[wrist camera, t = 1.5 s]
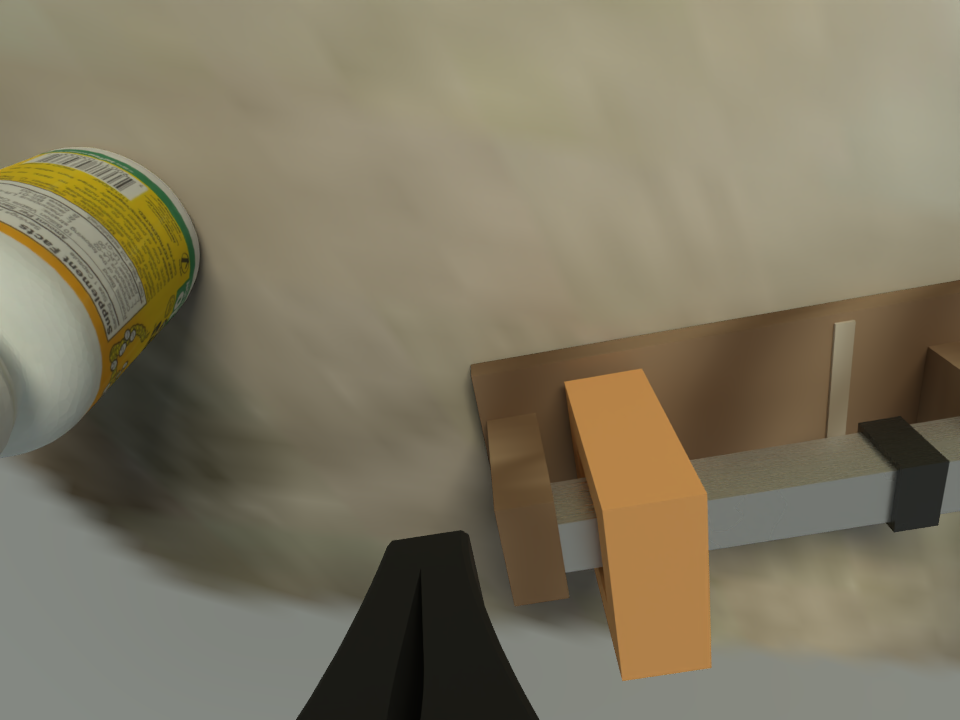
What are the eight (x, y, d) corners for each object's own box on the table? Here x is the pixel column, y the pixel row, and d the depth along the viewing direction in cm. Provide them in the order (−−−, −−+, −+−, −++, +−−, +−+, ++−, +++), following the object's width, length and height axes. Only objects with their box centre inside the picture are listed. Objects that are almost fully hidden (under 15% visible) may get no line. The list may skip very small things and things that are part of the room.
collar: (641, 368, 21) (707, 493, 15) (653, 517, 24) (711, 668, 18) (564, 381, 21) (602, 510, 16) (584, 528, 24) (622, 681, 18)
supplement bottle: (138, 114, 18) (-142, 212, 10) (239, 290, 20) (87, 494, 12) (-34, 185, 19) (-439, 336, 10) (83, 347, 21) (-164, 579, 13)
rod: (1031, 394, 19) (1096, 438, 17) (1016, 456, 20) (1076, 503, 18) (494, 482, 20) (498, 533, 18) (505, 537, 21) (511, 591, 19)
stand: (978, 277, 21) (1126, 353, 16) (945, 458, 24) (1061, 564, 20) (470, 364, 22) (475, 461, 17) (504, 528, 25) (516, 646, 20)
